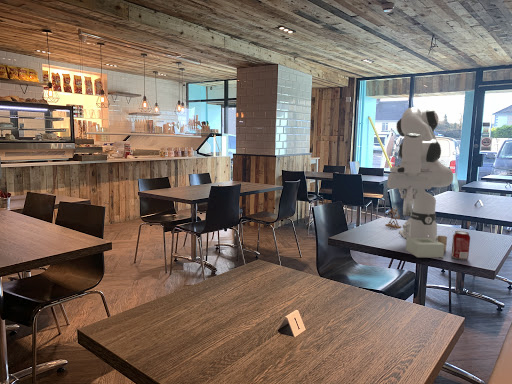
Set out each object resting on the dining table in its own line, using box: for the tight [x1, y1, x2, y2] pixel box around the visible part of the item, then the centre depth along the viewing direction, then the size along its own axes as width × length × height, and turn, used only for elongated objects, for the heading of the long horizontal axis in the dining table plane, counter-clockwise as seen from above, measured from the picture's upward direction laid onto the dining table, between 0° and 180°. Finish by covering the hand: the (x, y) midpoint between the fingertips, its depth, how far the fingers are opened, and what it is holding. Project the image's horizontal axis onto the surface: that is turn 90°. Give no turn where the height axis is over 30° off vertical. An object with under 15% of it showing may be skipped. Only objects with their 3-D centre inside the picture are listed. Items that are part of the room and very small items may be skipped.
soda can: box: [450, 230, 471, 261], centre depth 175 cm, size 7×7×12 cm
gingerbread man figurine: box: [385, 206, 402, 230], centre depth 238 cm, size 9×4×12 cm, turn 35°
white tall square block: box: [402, 186, 414, 217], centre depth 184 cm, size 4×4×14 cm
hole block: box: [405, 238, 445, 258], centre depth 182 cm, size 12×12×6 cm
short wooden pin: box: [436, 235, 448, 253], centre depth 187 cm, size 4×4×7 cm
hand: (408, 198), depth 184 cm, fingers closed on white tall square block, 4 cm apart
